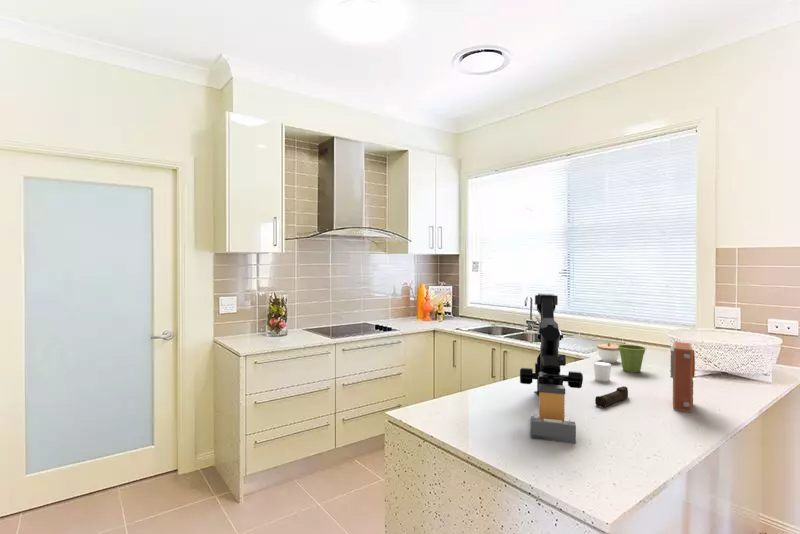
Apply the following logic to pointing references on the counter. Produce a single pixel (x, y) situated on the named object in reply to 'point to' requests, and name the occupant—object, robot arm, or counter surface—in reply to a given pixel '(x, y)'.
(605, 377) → the white cup
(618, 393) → the hand tool
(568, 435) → the base
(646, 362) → the counter surface
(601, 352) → the lidded jar
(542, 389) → the handle
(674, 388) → the brown case
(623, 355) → the plant pot
